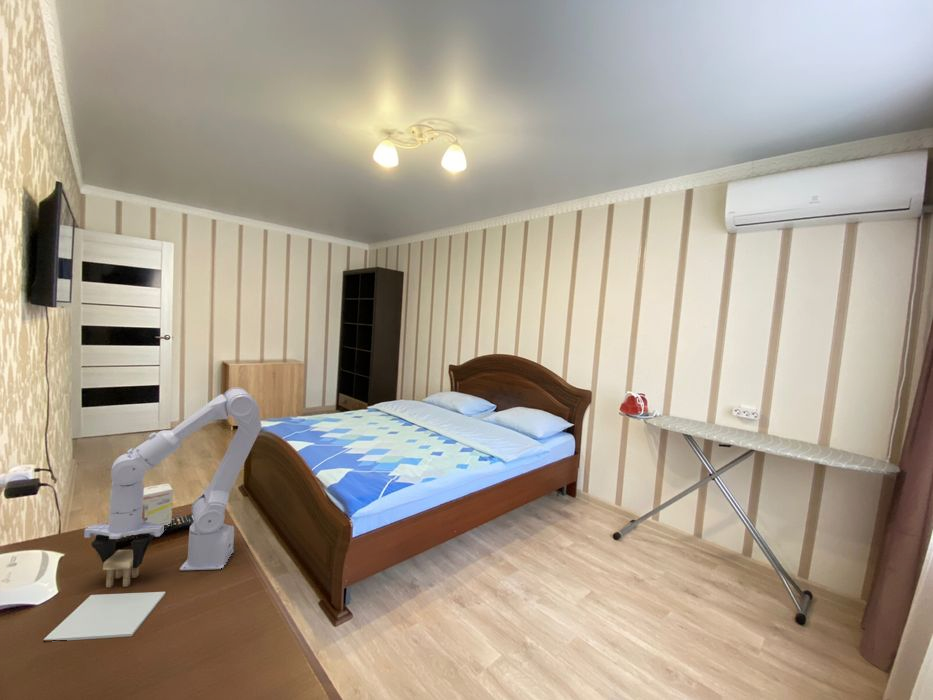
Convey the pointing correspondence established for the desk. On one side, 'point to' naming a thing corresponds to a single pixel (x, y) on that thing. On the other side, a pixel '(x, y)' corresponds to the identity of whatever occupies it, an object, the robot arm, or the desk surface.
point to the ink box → (158, 504)
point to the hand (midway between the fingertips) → (123, 565)
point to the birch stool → (120, 567)
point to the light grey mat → (107, 616)
